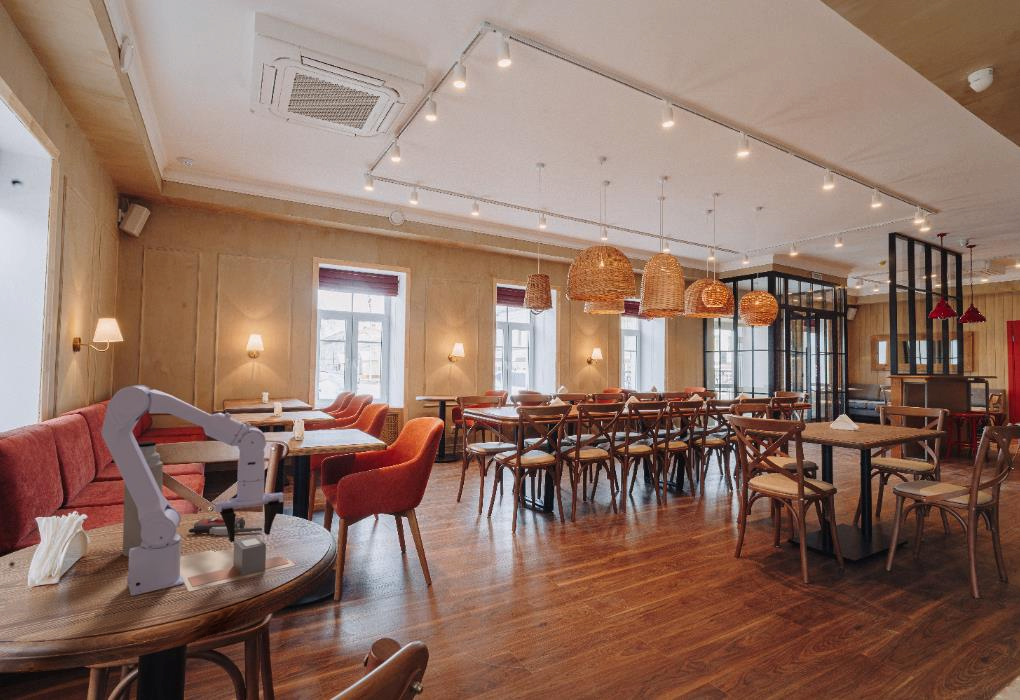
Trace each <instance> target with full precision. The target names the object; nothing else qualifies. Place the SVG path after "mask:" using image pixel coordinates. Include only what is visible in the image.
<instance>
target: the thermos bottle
mask: <svg viewBox="0 0 1020 700" xmlns="http://www.w3.org/2000/svg"><path fill="white" fill-rule="evenodd" d="M137 443H138V445H139V447H140V449H141V451H142V453H143V456H144V458H145V460H146V462H147V464H148V466H149V468H150V470H151V472H152V474H153V477H154V479H155V481H156V483H157V485H158V487H159V489H160V491H161V493H162V494H163V470H164V466H163V465H164V463H163V461H161V460H160V459H161V455H160V453H158V452H157V446H156V445H157V442H156V441H153V440H151V441H139V442H137ZM122 526H123V528H122V529H123V532H122V555H123V556H124V557H128V558H129V550H130V549H131V548H135V547H138V546H140V545H141V543H142V541H143V540H142V538H141V530H142V527H141V523H140V521H139V518H138V509H137V506H136V504H135V502H134V500H133V498H132V496H131V494H130V492H129V490H128V488H127V486H126V484H125V483H124V489H123V524H122Z"/></svg>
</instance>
